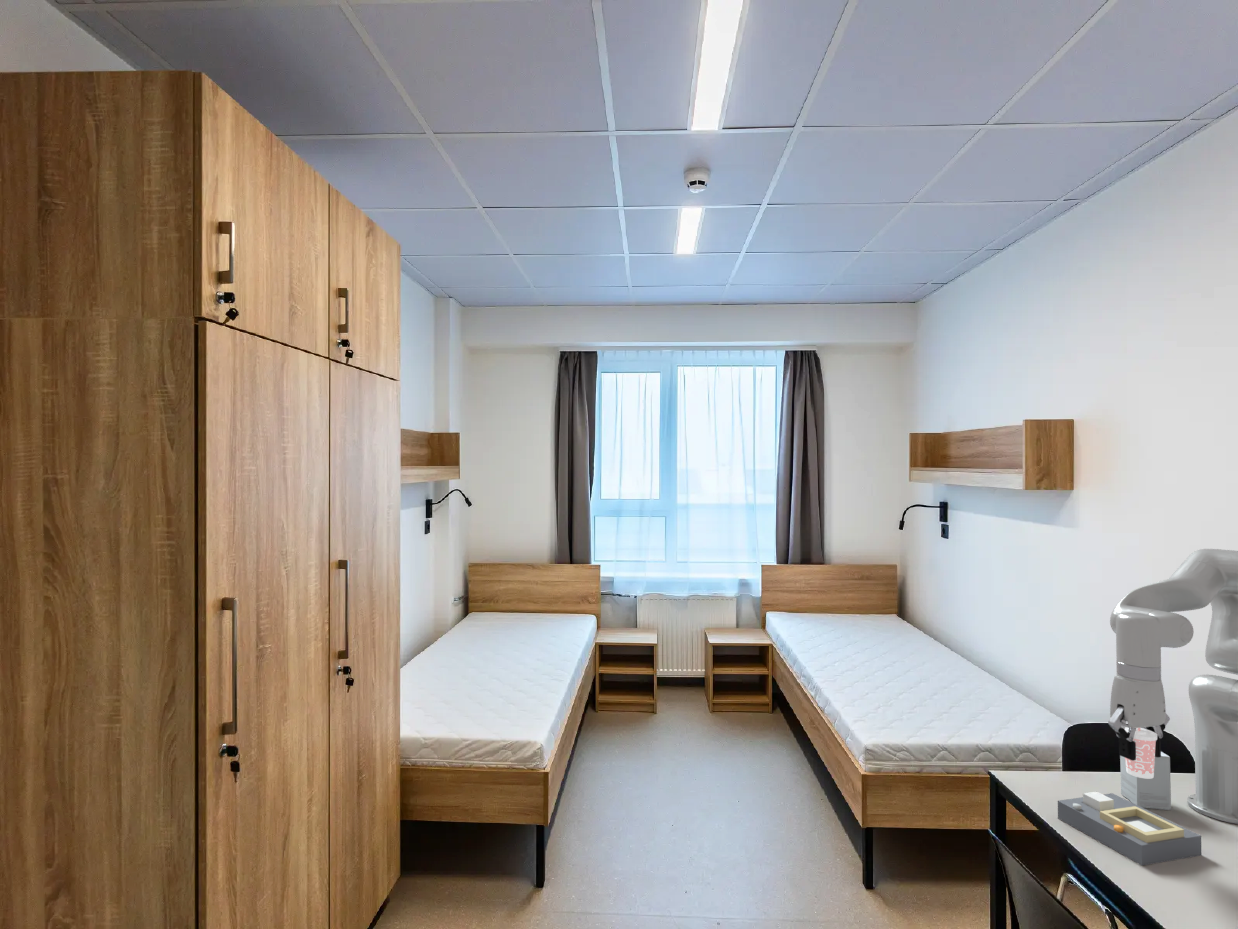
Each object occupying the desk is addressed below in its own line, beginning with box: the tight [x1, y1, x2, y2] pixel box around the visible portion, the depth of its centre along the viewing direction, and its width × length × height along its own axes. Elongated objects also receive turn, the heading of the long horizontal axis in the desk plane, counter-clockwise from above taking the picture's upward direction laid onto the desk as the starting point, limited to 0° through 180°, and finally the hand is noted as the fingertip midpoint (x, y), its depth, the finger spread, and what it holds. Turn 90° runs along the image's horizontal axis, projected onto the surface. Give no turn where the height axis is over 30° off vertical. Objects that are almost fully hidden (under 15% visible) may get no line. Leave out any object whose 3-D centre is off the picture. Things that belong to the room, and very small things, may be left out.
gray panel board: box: [1057, 792, 1203, 866], centre depth 143 cm, size 16×19×6 cm
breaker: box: [1082, 791, 1114, 812], centre depth 148 cm, size 4×4×4 cm
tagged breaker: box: [1126, 821, 1157, 832], centre depth 138 cm, size 4×4×4 cm
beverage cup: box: [1125, 727, 1157, 779], centre depth 139 cm, size 6×6×14 cm
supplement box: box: [1119, 751, 1172, 811], centre depth 158 cm, size 7×7×13 cm
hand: (1139, 755), depth 139 cm, fingers closed on beverage cup, 6 cm apart
